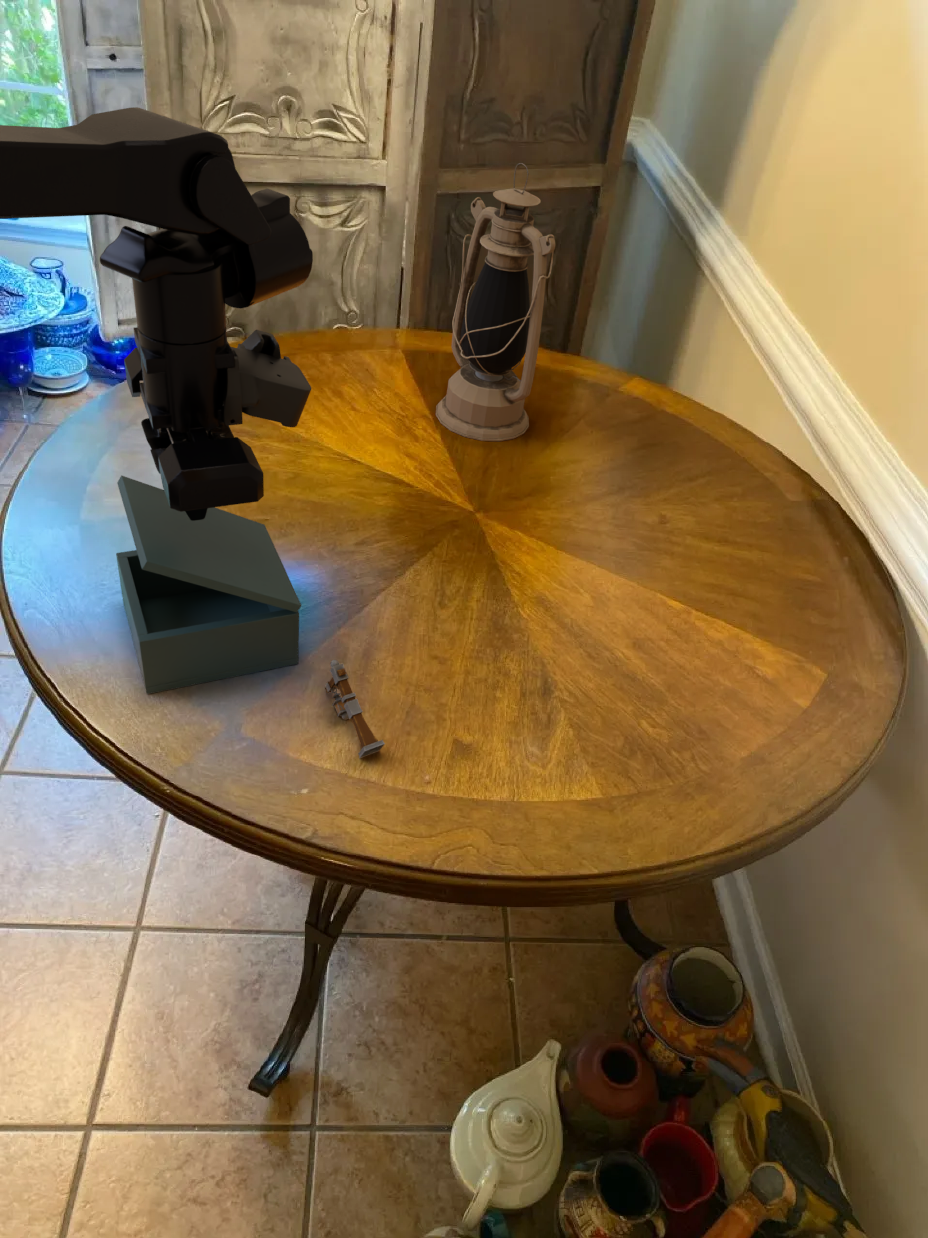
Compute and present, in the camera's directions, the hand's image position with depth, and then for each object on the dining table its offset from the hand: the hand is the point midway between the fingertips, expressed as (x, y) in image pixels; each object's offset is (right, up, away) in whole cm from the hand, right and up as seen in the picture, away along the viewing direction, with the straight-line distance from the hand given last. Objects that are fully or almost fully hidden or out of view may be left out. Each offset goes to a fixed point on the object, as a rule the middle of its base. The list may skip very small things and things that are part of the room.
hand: (196, 517), depth 71 cm
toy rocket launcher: (+11, -17, +3) cm, 21 cm away
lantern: (+23, +18, +45) cm, 54 cm away
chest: (-1, -9, +9) cm, 13 cm away
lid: (0, -2, +3) cm, 4 cm away
